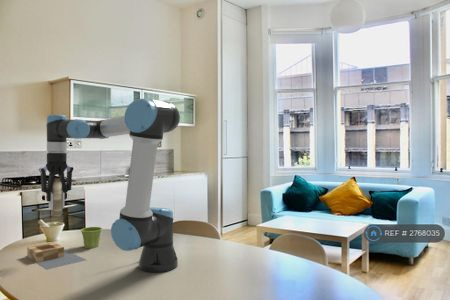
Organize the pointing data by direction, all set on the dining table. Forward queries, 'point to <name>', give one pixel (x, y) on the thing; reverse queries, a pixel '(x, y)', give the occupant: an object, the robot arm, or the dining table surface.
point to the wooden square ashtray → (45, 252)
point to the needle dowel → (57, 197)
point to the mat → (60, 260)
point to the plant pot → (91, 236)
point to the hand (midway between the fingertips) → (56, 208)
